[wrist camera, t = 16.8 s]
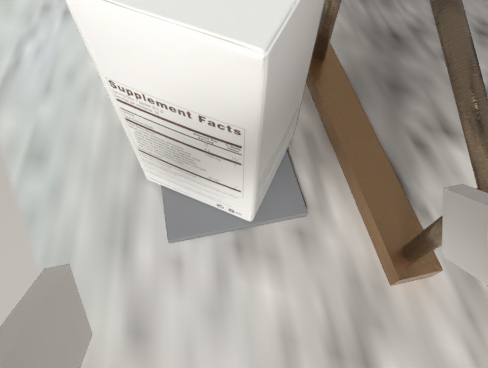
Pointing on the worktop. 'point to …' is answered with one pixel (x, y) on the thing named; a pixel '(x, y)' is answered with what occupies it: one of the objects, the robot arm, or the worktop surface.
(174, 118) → the supplement box
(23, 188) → the worktop surface
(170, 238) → the mat
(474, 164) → the cabinet door handle
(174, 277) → the worktop surface
